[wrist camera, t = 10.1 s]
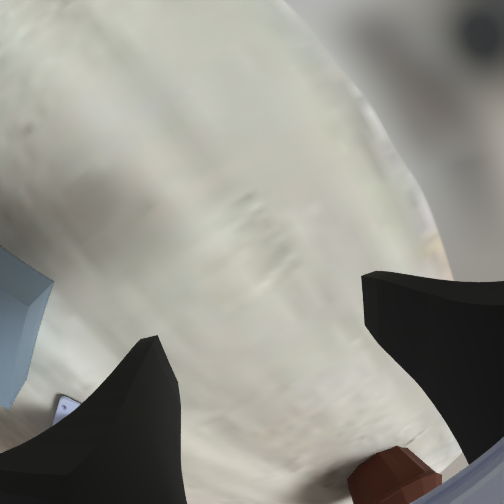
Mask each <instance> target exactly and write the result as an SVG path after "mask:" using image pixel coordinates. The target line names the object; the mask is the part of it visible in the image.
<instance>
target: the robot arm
mask: <svg viewBox="0 0 504 504" xmlns="http://www.w3.org/2000/svg"><path fill="white" fill-rule="evenodd" d="M361 279H362V291H363V305H364V322H365V326H366V327H367V329H368V330H369V332H370V333H371V335H372V336H373V337H374V339H375V340H376V341H377V342H378V344H379V345H380V346H381V347H382V348H383V349H384V350H385V351H386V352H387V353H388V354H389V355H390V356H391V357H392V358H393V359H394V360H395V361H396V362H397V363H398V364H399V365H400V366H401V367H402V368H403V369H404V370H405V371H406V372H407V373H408V374H409V375H410V376H411V377H412V378H413V379H414V380H415V381H416V382H417V383H418V385H419V386H420V387H421V388H422V389H423V391H424V392H425V393H426V395H427V396H428V397H429V399H430V400H431V401H432V403H433V404H434V405H435V407H436V408H437V410H438V411H439V413H440V414H441V416H442V417H443V419H444V420H445V422H446V423H447V425H448V427H449V428H450V430H451V432H452V433H453V435H454V437H455V438H456V440H457V442H458V444H459V446H460V448H461V449H462V451H463V453H464V455H465V457H466V459H467V462H468V464H469V466H467V467H466V468H465V469H463V470H462V471H460V472H459V473H457V474H456V475H455V476H453V477H452V478H450V479H449V480H448V481H446V482H444V483H443V484H441V485H440V486H438V487H437V488H435V489H433V490H432V491H430V492H429V493H427V494H425V495H424V496H422V497H420V498H419V499H417V500H415V501H413V502H412V503H410V504H504V281H498V282H459V281H448V280H439V279H432V278H425V277H419V276H413V275H407V274H401V273H394V272H386V271H374V272H371V273H368V274H365V275H363V276H361ZM64 405H65V406H64ZM0 504H187V501H186V496H185V490H184V484H183V478H182V471H181V403H180V394H179V387H178V381H177V379H176V377H175V375H174V372H173V370H172V368H171V366H170V363H169V361H168V359H167V356H166V354H165V352H164V349H163V347H162V345H161V342H160V340H159V337H158V335H156V336H152V337H148V338H144V339H140V340H139V341H138V342H137V343H136V344H135V346H134V347H133V348H132V349H131V350H130V351H129V353H128V354H127V355H126V356H125V358H124V359H123V360H122V361H121V362H120V364H119V365H118V366H117V367H116V368H115V370H114V371H113V372H112V373H111V374H110V375H109V376H108V377H107V378H106V380H105V381H104V382H103V383H102V384H101V385H100V386H99V387H98V388H97V389H96V390H95V391H94V392H93V393H92V394H91V395H90V396H89V397H88V398H87V399H86V400H85V401H84V402H83V403H82V404H80V403H78V402H76V401H74V400H72V399H70V398H68V397H66V396H62V397H61V398H60V400H59V403H58V407H57V410H56V413H55V417H54V420H53V424H52V427H51V428H49V429H48V430H46V431H44V432H43V433H41V434H39V435H38V436H36V437H34V438H32V439H31V440H29V441H27V442H25V443H23V444H21V445H19V446H17V447H14V448H12V449H10V450H7V451H5V452H3V453H0Z"/></svg>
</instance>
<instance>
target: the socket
mask: <svg viewBox="0 0 504 504" xmlns="http://www.w3.org/2000/svg"><path fill="white" fill-rule="evenodd" d="M53 283H54V281H52V280H50V279H49V278H47V277H46V276H44V275H42V274H41V273H39V272H38V271H36V270H35V269H33V268H32V267H30V266H28V265H27V264H25V263H24V262H22V261H21V260H19V259H18V258H16V257H15V256H14V255H12V254H11V253H9V252H8V251H6V250H5V249H3V248H2V247H1V246H0V405H1V406H3V407H4V408H6V409H8V410H9V409H10V407H11V405H12V404H13V402H14V400H15V398H16V396H17V395H18V393H19V391H20V390H21V388H22V386H23V384H24V383H25V381H26V379H27V375H28V371H29V366H30V362H31V358H32V353H33V349H34V346H35V342H36V338H37V334H38V331H39V327H40V324H41V320H42V317H43V314H44V311H45V307H46V304H47V301H48V298H49V295H50V292H51V289H52V286H53Z"/></svg>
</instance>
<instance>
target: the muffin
mask: <svg viewBox="0 0 504 504" xmlns="http://www.w3.org/2000/svg"><path fill="white" fill-rule="evenodd" d="M347 481H348V484H349V490H350V494H351V497H352V500H353V503H354V504H410V503H412V502H413V501H415V500H417V499H419V498H420V497H422V496H424V495H425V494H427V493H429V492H430V491H432V490H433V489H435V488H437V487H438V486H440V485H441V484H442V475H441V474H438V473H436V472H435V471H434V470H432V469H431V468H430V467H429V466H428V465H427V464H425V463H424V462H423V461H422V460H421V459H420V458H418V457H417V456H416V455H415V454H414V453H413V452H411V451H410V450H409V449H408V448H401V447H399V446H395V447H393V448H391V449H388V450H385V451H382V452H379V453H377V454H376V455H374V456H373V457H372V458H370V459H369V460H367V461H366V462H364V463H362V464H361V465H359V466H358V467H357V469H356V470H355V471H354V473H353V474H352V475H351V476H350V477H349V478H348V479H347Z"/></svg>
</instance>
